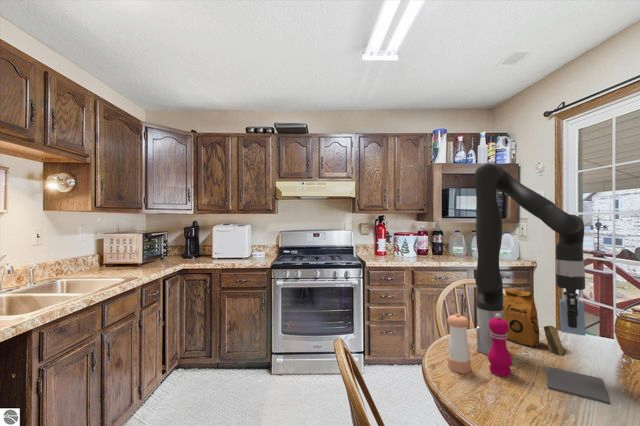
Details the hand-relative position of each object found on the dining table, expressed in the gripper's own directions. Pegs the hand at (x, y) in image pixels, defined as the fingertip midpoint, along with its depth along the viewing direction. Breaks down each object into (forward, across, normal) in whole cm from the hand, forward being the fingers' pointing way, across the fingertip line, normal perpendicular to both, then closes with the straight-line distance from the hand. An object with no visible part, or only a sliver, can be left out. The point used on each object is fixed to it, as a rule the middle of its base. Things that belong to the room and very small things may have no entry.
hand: (572, 325), depth 100 cm
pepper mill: (+17, +10, -20) cm, 28 cm away
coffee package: (+17, -26, -16) cm, 35 cm away
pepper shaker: (+18, +15, -32) cm, 40 cm away
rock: (+17, -24, -4) cm, 29 cm away
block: (+2, 0, 0) cm, 2 cm away
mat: (+17, +5, 0) cm, 18 cm away
